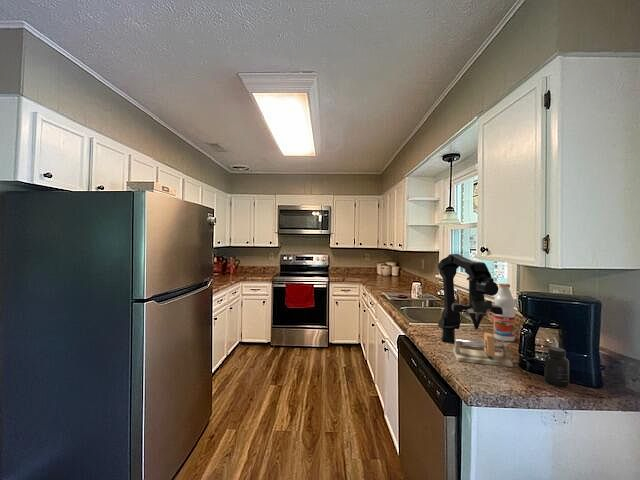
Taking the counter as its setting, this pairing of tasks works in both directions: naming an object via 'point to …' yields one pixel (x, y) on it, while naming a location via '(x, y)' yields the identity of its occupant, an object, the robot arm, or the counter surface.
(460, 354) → the stand
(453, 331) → the robot arm
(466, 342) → the pipe
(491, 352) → the slotted orange block
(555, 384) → the supplement bottle
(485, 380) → the counter surface
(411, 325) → the counter surface
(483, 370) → the counter surface
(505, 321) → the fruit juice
